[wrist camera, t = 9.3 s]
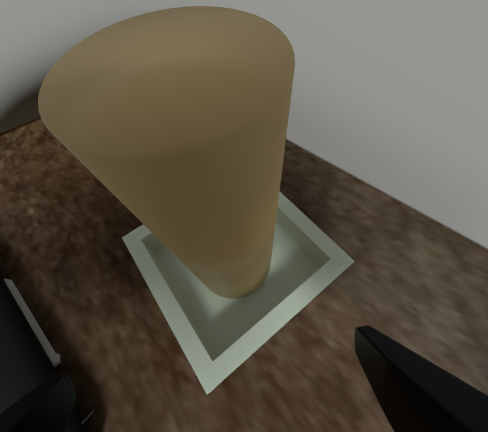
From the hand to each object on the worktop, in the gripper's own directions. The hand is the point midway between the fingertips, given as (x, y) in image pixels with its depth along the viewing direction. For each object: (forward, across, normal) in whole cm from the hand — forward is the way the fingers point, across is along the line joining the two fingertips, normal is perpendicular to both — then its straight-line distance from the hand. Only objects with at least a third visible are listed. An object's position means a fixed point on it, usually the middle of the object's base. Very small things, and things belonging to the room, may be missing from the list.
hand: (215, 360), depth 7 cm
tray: (+10, -1, +2) cm, 11 cm away
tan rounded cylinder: (+10, 0, +2) cm, 10 cm away
